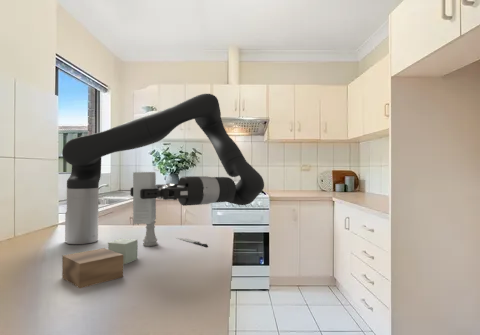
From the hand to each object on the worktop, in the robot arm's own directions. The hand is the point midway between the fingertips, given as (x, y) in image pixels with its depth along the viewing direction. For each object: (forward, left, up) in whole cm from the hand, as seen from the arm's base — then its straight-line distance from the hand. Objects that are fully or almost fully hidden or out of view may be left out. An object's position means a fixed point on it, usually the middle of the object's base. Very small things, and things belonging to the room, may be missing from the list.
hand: (135, 192), depth 75 cm
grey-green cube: (-8, +3, -18) cm, 20 cm away
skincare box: (+1, +2, -7) cm, 8 cm away
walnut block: (-3, -9, -18) cm, 20 cm away
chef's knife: (-7, +29, -18) cm, 35 cm away
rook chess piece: (-15, +19, -18) cm, 30 cm away
